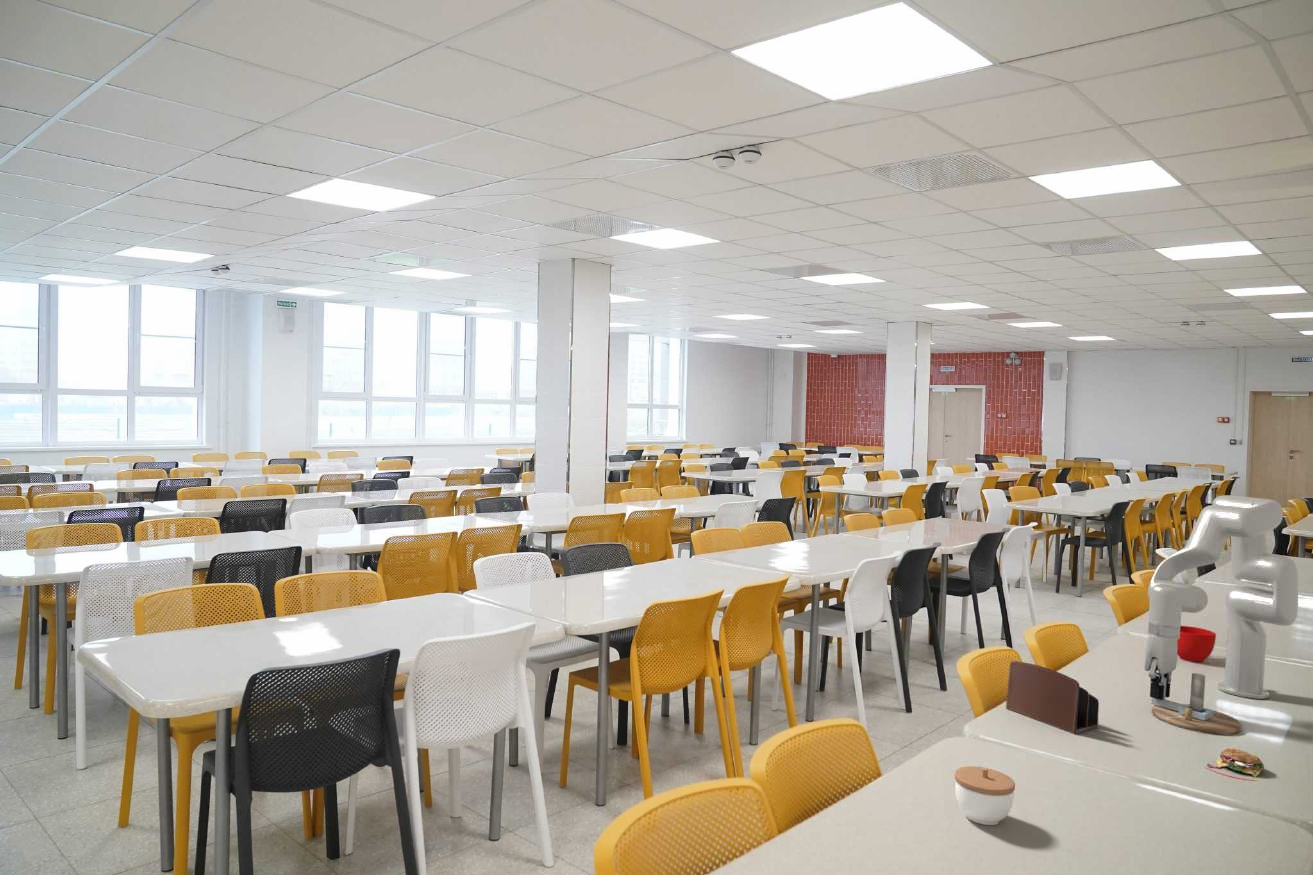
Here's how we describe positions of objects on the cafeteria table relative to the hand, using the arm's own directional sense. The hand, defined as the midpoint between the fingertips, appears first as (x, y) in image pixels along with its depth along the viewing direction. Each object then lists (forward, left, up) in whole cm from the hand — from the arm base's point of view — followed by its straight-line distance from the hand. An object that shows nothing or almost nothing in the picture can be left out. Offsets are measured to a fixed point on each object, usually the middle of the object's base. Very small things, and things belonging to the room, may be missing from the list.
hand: (1159, 696), depth 230 cm
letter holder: (+34, -13, -4) cm, 37 cm away
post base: (0, +9, -4) cm, 10 cm away
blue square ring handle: (0, +5, -2) cm, 6 cm away
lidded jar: (+102, +8, -4) cm, 102 cm away
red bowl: (-71, -17, -4) cm, 73 cm away
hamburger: (+29, +27, -4) cm, 39 cm away
